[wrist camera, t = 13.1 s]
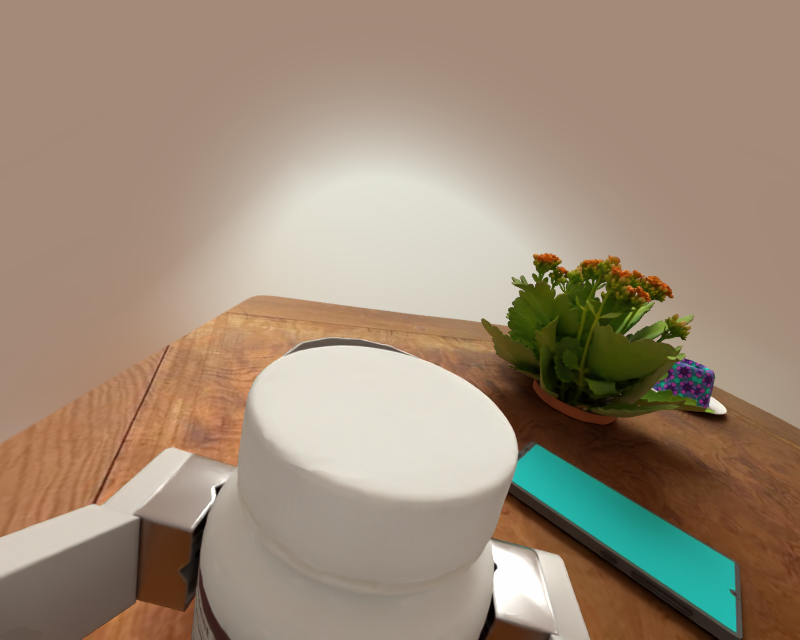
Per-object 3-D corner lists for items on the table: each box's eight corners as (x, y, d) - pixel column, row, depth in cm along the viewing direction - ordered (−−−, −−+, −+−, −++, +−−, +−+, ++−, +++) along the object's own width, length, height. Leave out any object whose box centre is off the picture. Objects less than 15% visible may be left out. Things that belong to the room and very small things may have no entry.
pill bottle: (343, 590, 12) (415, 331, 9) (451, 792, 8) (613, 465, 6) (156, 682, 9) (183, 337, 6) (202, 1055, 5) (305, 625, 3)
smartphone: (532, 440, 35) (739, 563, 26) (529, 447, 35) (733, 572, 27) (495, 472, 29) (743, 642, 21) (491, 481, 30) (735, 653, 21)
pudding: (644, 397, 55) (661, 363, 53) (625, 367, 66) (638, 339, 65) (740, 429, 52) (761, 395, 51) (703, 393, 63) (719, 364, 62)
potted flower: (680, 414, 52) (749, 289, 47) (726, 528, 31) (857, 326, 26) (500, 343, 62) (539, 232, 56) (444, 394, 41) (497, 227, 36)
